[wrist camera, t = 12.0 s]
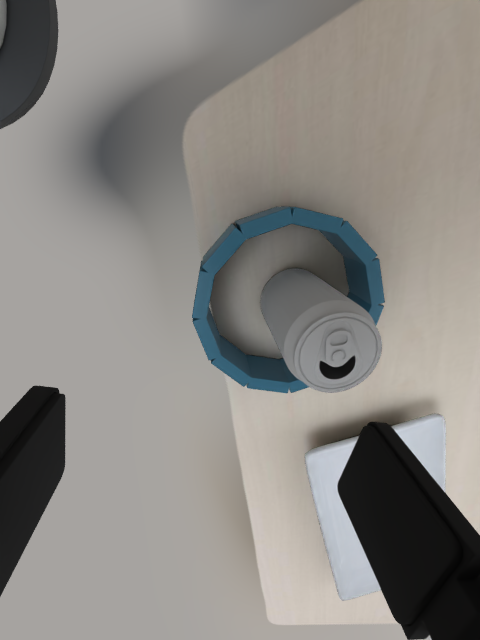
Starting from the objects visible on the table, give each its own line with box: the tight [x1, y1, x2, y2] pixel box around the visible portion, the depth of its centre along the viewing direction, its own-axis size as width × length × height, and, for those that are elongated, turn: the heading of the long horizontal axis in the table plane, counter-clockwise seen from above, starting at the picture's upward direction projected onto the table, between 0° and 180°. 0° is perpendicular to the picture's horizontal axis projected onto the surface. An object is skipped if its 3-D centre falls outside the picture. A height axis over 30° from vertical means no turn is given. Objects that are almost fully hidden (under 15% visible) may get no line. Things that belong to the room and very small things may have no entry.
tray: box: [305, 414, 446, 600], centre depth 40 cm, size 17×31×4 cm, turn 15°
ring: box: [192, 206, 385, 393], centre depth 27 cm, size 17×17×4 cm
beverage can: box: [260, 268, 382, 393], centre depth 24 cm, size 6×6×12 cm
